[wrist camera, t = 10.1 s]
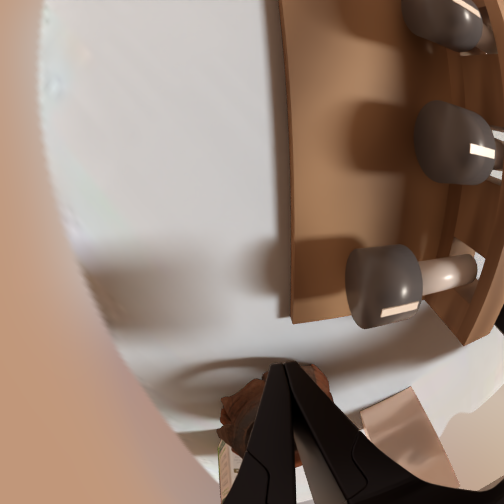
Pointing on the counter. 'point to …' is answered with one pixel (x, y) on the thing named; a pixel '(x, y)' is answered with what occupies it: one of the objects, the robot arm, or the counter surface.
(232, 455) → the syrup box
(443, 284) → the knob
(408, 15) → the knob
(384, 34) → the panel
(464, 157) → the knob middle
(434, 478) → the soap dispenser
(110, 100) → the counter surface
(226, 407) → the pottery mug
